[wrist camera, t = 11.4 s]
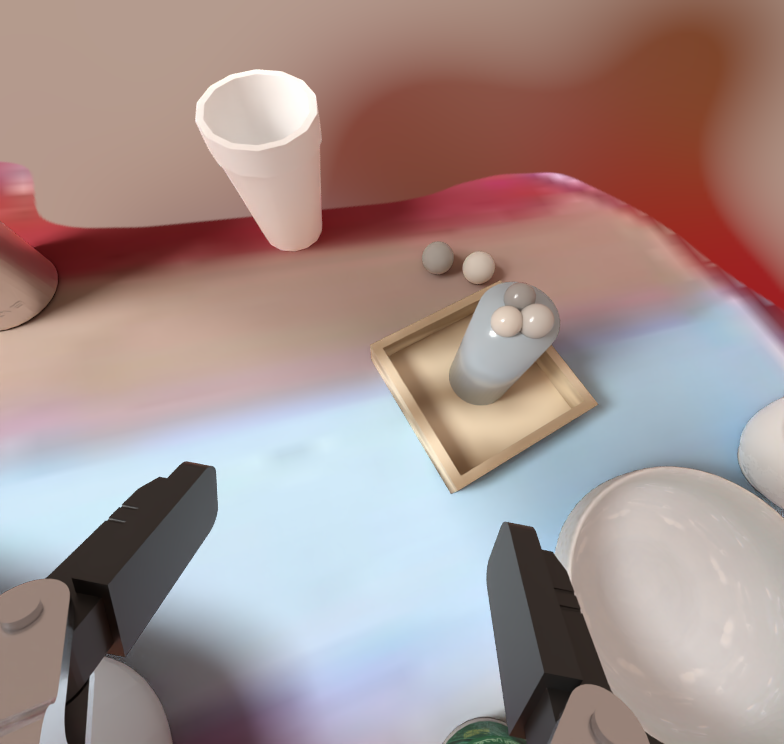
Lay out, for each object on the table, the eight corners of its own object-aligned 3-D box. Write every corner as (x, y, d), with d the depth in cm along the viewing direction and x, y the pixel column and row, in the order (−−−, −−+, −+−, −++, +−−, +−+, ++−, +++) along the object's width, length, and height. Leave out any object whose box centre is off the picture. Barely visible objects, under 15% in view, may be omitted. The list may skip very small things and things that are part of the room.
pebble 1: (415, 262, 40) (417, 242, 37) (440, 251, 41) (445, 230, 38) (430, 285, 39) (434, 265, 36) (456, 272, 40) (462, 252, 37)
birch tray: (371, 359, 36) (370, 344, 33) (491, 298, 39) (500, 280, 36) (450, 493, 32) (458, 490, 29) (579, 414, 34) (598, 404, 32)
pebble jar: (438, 364, 35) (466, 285, 23) (487, 341, 36) (538, 255, 24) (467, 415, 33) (514, 358, 22) (518, 390, 34) (589, 321, 23)
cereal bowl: (721, 485, 33) (806, 476, 26) (778, 732, 26) (909, 802, 20) (523, 468, 33) (559, 454, 26) (535, 710, 27) (585, 772, 20)
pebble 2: (453, 272, 40) (459, 252, 37) (479, 260, 41) (486, 239, 38) (470, 295, 39) (478, 276, 36) (496, 282, 40) (505, 263, 37)
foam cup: (250, 199, 43) (198, 72, 31) (331, 192, 44) (312, 65, 32) (250, 267, 40) (192, 156, 27) (339, 259, 40) (320, 146, 28)
